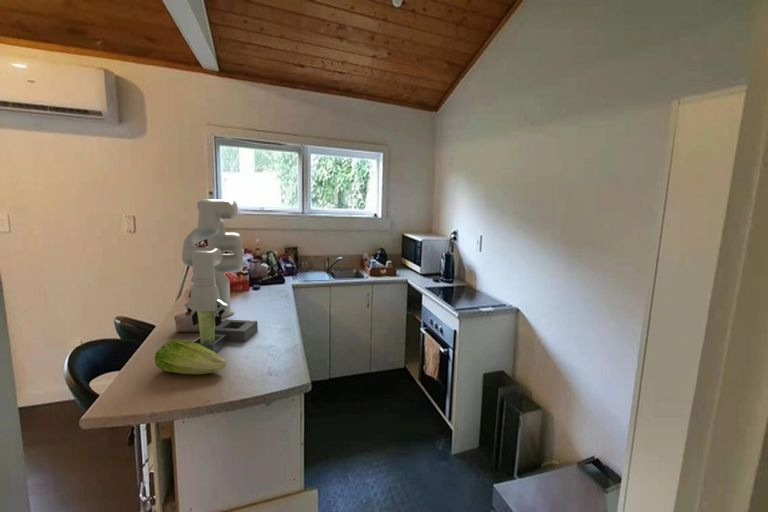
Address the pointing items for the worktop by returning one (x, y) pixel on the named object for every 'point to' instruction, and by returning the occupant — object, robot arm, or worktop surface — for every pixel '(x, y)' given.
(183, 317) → the food item
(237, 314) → the worktop surface
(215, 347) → the gray square frame
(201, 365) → the lettuce
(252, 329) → the port block
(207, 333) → the tube
